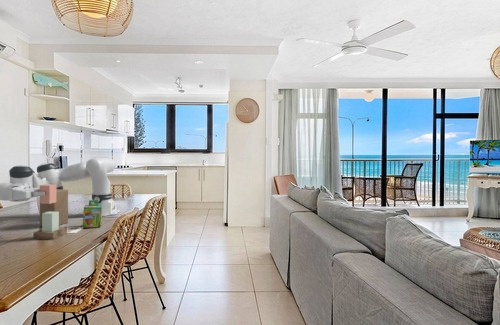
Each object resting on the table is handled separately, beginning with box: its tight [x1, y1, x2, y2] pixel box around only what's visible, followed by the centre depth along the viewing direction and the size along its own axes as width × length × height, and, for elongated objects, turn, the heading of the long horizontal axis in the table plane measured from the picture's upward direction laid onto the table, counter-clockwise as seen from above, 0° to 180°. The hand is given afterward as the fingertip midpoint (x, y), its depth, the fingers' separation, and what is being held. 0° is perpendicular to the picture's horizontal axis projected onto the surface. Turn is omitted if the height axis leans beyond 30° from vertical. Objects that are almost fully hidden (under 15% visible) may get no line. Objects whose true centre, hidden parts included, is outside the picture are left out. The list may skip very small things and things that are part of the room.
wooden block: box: [39, 189, 69, 227], centre depth 175 cm, size 10×10×20 cm
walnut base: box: [32, 227, 68, 240], centre depth 150 cm, size 10×10×3 cm
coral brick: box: [39, 184, 56, 205], centre depth 150 cm, size 5×5×9 cm
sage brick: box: [41, 211, 60, 232], centre depth 150 cm, size 5×5×9 cm
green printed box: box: [82, 199, 103, 229], centre depth 172 cm, size 9×9×15 cm
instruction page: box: [66, 226, 84, 234], centre depth 162 cm, size 12×9×1 cm
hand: (49, 192), depth 150 cm, fingers closed on coral brick, 5 cm apart
